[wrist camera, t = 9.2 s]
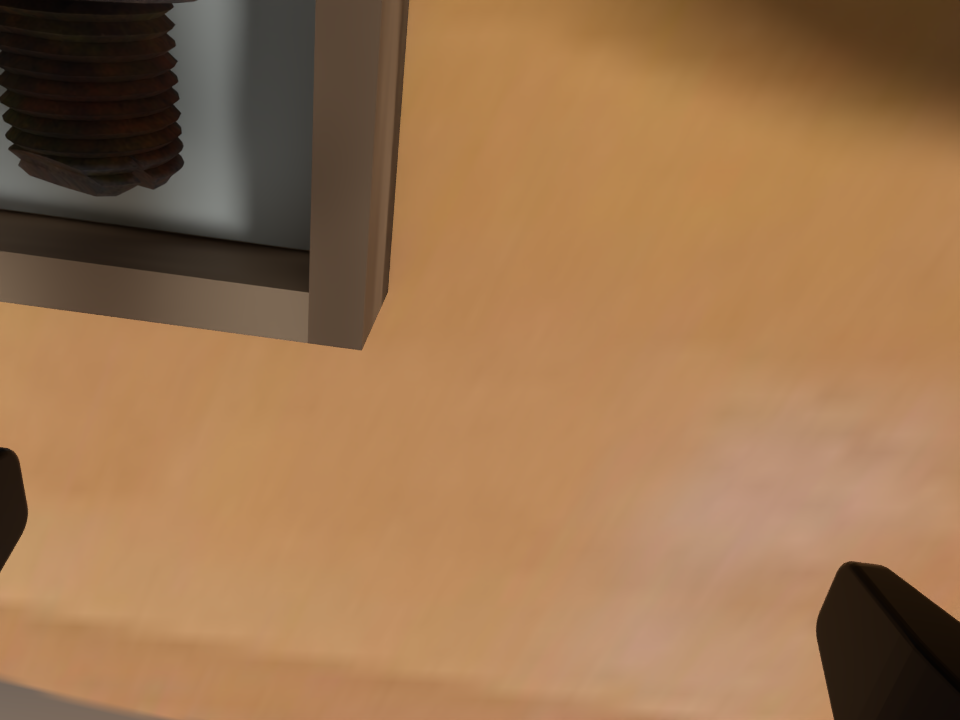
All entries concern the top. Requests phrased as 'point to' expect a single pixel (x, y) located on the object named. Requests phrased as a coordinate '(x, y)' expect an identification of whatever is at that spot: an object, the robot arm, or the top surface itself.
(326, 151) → the wooden tray
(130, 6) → the bolt
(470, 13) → the top surface
